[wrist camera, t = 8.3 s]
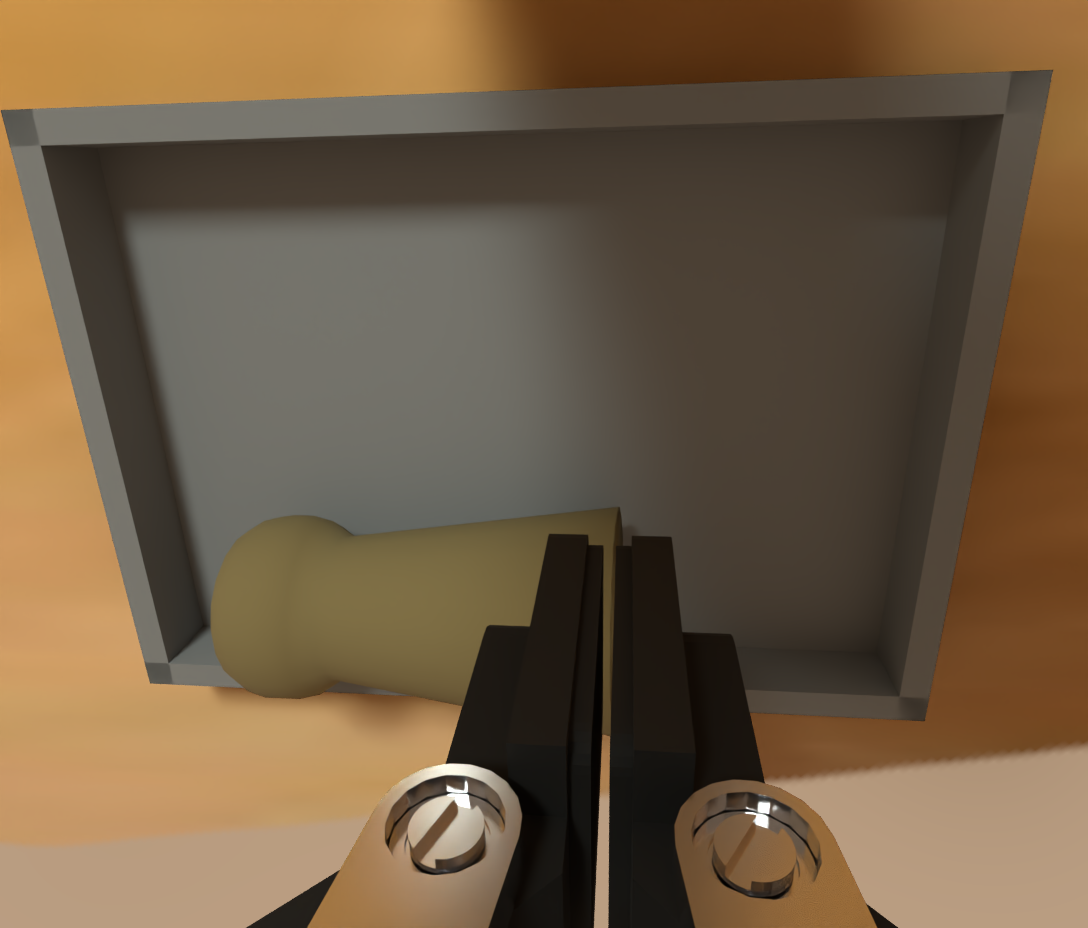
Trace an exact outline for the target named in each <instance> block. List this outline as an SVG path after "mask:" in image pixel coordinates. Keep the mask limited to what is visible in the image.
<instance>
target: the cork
mask: <svg viewBox="0 0 1088 928" xmlns="http://www.w3.org/2000/svg"><path fill="white" fill-rule="evenodd" d="M549 534H585V535H588V537H589V545H603V548H604V578H603V727H602V734H603V735H608V736H610V731H611V697H612V664H613V630H614V596H615V563H616V546H623V530H622V516H621V511H620V507H612V508H603V509H594V510H584V511H575V512H566V513H557V514H548V515H539V516H530V517H521V518H512V519H502V520H493V521H484V522H475V523H466V524H457V525H448V526H439V527H430V528H420V529H411V530H402V531H393V532H384V533H375V534H366V535H357V536H354V535H353V534H351V533H350V532H349V531H348V530H346V529H345V528H344V527H342V526H340V525H339V524H337V523H335V522H334V521H331V520H327V519H324V518H321V517H317V516H309V515H292V516H284V517H279V518H274V519H270V520H266V521H263V522H262V523H260V524H258V525H257V526H255V527H254V528H252V529H251V530H249V531H248V532H246V533H245V534H244V535H242V536H241V537H240V538H238V539H237V540H236V541H235V543H234V544H233V546H232V547H231V549H230V550H229V552H228V553H227V554H226V556H225V558H224V561H223V563H222V566H221V568H220V571H219V573H218V576H217V578H216V581H215V586H214V591H213V596H212V601H211V634H212V639H213V645H214V650H215V654H216V656H217V658H218V660H219V662H220V664H221V666H222V668H223V670H224V671H225V672H226V673H227V674H228V675H229V676H230V677H232V678H233V679H234V680H235V681H236V682H237V683H239V684H240V685H241V686H242V687H244V688H245V689H246V690H247V691H249V692H252V693H255V694H258V695H260V696H263V697H269V698H292V699H301V698H306V697H310V696H315V695H320V694H321V693H323V692H324V691H326V690H328V689H329V688H331V687H332V686H334V685H335V684H337V683H339V682H340V681H342V682H347V683H352V684H357V685H362V686H366V687H371V688H376V689H381V690H386V691H391V692H396V693H401V694H406V695H411V696H416V697H421V698H426V699H431V700H436V701H440V702H445V703H450V704H455V705H460V706H463V703H464V700H465V696H466V693H467V690H468V686H469V683H470V679H471V676H472V673H473V669H474V666H475V662H476V659H477V656H478V652H479V649H480V645H481V642H482V639H483V635H484V632H485V630H486V627H487V626H489V625H507V626H530V623H531V618H532V613H533V608H534V604H535V599H536V594H537V589H538V584H539V579H540V574H541V569H542V564H543V559H544V554H545V549H546V545H547V540H548V535H549Z"/></svg>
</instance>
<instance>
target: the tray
mask: <svg viewBox="0 0 1088 928" xmlns="http://www.w3.org/2000/svg"><path fill="white" fill-rule="evenodd" d="M1052 72H1053V70H1038V71H1012V72H986V73H960V74H934V75H908V76H881V77H855V78H829V79H803V80H777V81H751V82H725V83H699V84H673V85H646V86H620V87H594V88H568V89H542V90H516V91H490V92H464V93H438V94H412V95H385V96H359V97H333V98H307V99H281V100H255V101H229V102H203V103H177V104H150V105H124V106H98V107H72V108H46V109H20V110H1V113H2V117H3V121H4V125H5V128H6V132H7V136H8V140H9V144H10V148H11V151H12V155H13V159H14V163H15V167H16V171H17V174H18V178H19V182H20V186H21V190H22V194H23V198H24V201H25V205H26V209H27V213H28V217H29V221H30V224H31V228H32V232H33V236H34V240H35V244H36V247H37V251H38V255H39V259H40V263H41V267H42V270H43V274H44V278H45V282H46V286H47V290H48V293H49V297H50V301H51V305H52V309H53V313H54V316H55V320H56V324H57V328H58V332H59V336H60V339H61V343H62V347H63V351H64V355H65V359H66V362H67V366H68V370H69V374H70V378H71V382H72V385H73V389H74V393H75V397H76V401H77V405H78V409H79V412H80V416H81V420H82V424H83V428H84V432H85V435H86V439H87V443H88V447H89V451H90V455H91V458H92V462H93V466H94V470H95V474H96V478H97V481H98V485H99V489H100V493H101V497H102V501H103V504H104V508H105V512H106V516H107V520H108V524H109V527H110V531H111V535H112V539H113V543H114V547H115V550H116V554H117V558H118V562H119V566H120V570H121V573H122V577H123V581H124V585H125V589H126V593H127V597H128V600H129V604H130V608H131V612H132V616H133V620H134V623H135V627H136V631H137V635H138V639H139V643H140V646H141V650H142V654H143V658H144V662H145V666H146V669H147V673H148V677H149V681H150V683H154V684H174V685H195V686H215V687H236V688H244V687H242V686H241V685H240V684H239V683H237V682H236V681H235V680H234V679H233V678H232V677H230V676H229V675H228V674H227V673H226V672H225V671H224V670H223V668H222V666H221V664H220V662H219V660H218V658H217V656H216V654H215V650H214V645H213V639H212V634H211V601H212V596H213V591H214V586H215V581H216V578H217V576H218V573H219V571H220V568H221V566H222V563H223V561H224V558H225V556H226V554H227V553H228V552H229V550H230V549H231V547H232V546H233V544H234V543H235V541H236V540H237V539H238V538H240V537H241V536H242V535H244V534H245V533H246V532H248V531H249V530H251V529H252V528H254V527H255V526H257V525H258V524H260V523H262V522H263V521H266V520H270V519H274V518H279V517H284V516H292V515H309V516H317V517H321V518H324V519H327V520H331V521H334V522H335V523H337V524H339V525H340V526H342V527H344V528H345V529H346V530H348V531H349V532H350V533H351V534H353V535H354V536H357V535H366V534H375V533H384V532H393V531H402V530H411V529H420V528H430V527H439V526H448V525H457V524H466V523H475V522H484V521H493V520H502V519H512V518H521V517H530V516H539V515H548V514H557V513H566V512H575V511H584V510H594V509H603V508H612V507H620V511H621V516H622V530H623V546H631V543H632V536H667V537H672V544H673V552H674V561H675V570H676V579H677V588H678V597H679V606H680V615H681V624H682V632H694V633H721V634H731V635H732V636H733V639H734V642H735V646H736V651H737V655H738V660H739V665H740V669H741V674H742V679H743V683H744V688H745V693H746V697H747V702H748V707H749V711H750V713H769V714H789V715H810V716H830V717H851V718H871V719H892V720H912V721H925V717H926V712H927V707H928V702H929V697H930V691H931V686H932V681H933V676H934V671H935V666H936V661H937V656H938V651H939V646H940V641H941V636H942V631H943V625H944V620H945V615H946V610H947V605H948V600H949V595H950V590H951V585H952V580H953V575H954V570H955V565H956V560H957V554H958V549H959V544H960V539H961V534H962V529H963V524H964V519H965V514H966V509H967V504H968V499H969V494H970V488H971V483H972V478H973V473H974V468H975V463H976V458H977V453H978V448H979V443H980V438H981V433H982V428H983V423H984V417H985V412H986V407H987V402H988V397H989V392H990V387H991V382H992V377H993V372H994V367H995V362H996V357H997V351H998V346H999V341H1000V336H1001V331H1002V326H1003V321H1004V316H1005V311H1006V306H1007V301H1008V296H1009V291H1010V286H1011V280H1012V275H1013V270H1014V265H1015V260H1016V255H1017V250H1018V245H1019V240H1020V235H1021V230H1022V225H1023V220H1024V214H1025V209H1026V204H1027V199H1028V194H1029V189H1030V184H1031V179H1032V174H1033V169H1034V164H1035V159H1036V154H1037V149H1038V143H1039V138H1040V133H1041V128H1042V123H1043V118H1044V113H1045V108H1046V103H1047V98H1048V93H1049V88H1050V83H1051V77H1052ZM324 692H338V693H359V694H379V695H400V696H411V695H406V694H401V693H396V692H391V691H386V690H381V689H376V688H371V687H366V686H362V685H357V684H352V683H347V682H342V681H340V682H339V683H337V684H335V685H334V686H332V687H331V688H329V689H328V690H326V691H324Z"/></svg>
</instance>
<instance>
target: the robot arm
mask: <svg viewBox="0 0 1088 928" xmlns="http://www.w3.org/2000/svg"><path fill="white" fill-rule="evenodd" d="M603 578H604V548H603V545H589V537H588V535H585V534H549V535H548V540H547V545H546V549H545V554H544V559H543V564H542V569H541V574H540V579H539V584H538V589H537V594H536V599H535V604H534V608H533V613H532V618H531V623H530V626H507V625H489V626H487V627H486V630H485V632H484V635H483V639H482V642H481V645H480V649H479V652H478V656H477V659H476V662H475V666H474V669H473V673H472V676H471V679H470V683H469V686H468V690H467V693H466V696H465V700H464V703H463V707H462V710H461V713H460V717H459V720H458V724H457V727H456V730H455V734H454V737H453V741H452V744H451V747H450V751H449V754H448V758H447V761H446V764H444V765H439V766H433V767H428V768H425V769H423V770H421V771H419V772H416V773H414V774H412V775H409V776H407V777H406V778H404V779H403V780H402V781H400V782H399V783H398V784H396V785H395V786H394V787H392V788H391V789H390V790H389V791H388V792H387V793H386V795H385V796H384V797H383V798H382V800H381V801H380V802H379V803H378V805H377V806H376V807H375V809H374V811H373V813H372V814H371V816H370V818H369V820H368V821H367V823H366V825H365V827H364V828H363V830H362V832H361V834H360V836H359V837H358V839H357V841H356V843H355V845H354V846H353V848H352V850H351V852H350V853H349V855H348V857H347V858H346V860H345V862H344V864H343V865H342V867H341V869H340V870H339V871H337V872H336V873H334V874H333V875H331V876H329V877H328V878H326V879H324V880H323V881H321V882H319V883H318V884H316V885H315V886H313V887H311V888H310V889H309V890H307V891H305V892H303V893H302V894H300V895H298V896H297V897H295V898H294V899H292V900H291V901H289V902H287V903H286V904H284V905H282V906H281V907H279V908H277V909H276V910H274V911H273V912H271V913H269V914H268V915H266V916H264V917H263V918H261V919H260V920H258V921H256V922H255V923H253V924H252V925H250V926H248V927H247V928H594V910H595V885H596V865H597V864H596V863H597V842H598V818H599V796H600V773H601V750H602V727H603ZM609 815H610V817H609V925H608V926H609V927H608V928H898V927H896V926H895V925H894V924H892V923H891V922H890V921H888V920H887V919H886V918H884V917H883V916H882V915H880V914H879V913H878V912H876V911H875V910H874V909H873V908H871V907H870V906H869V905H867V904H866V903H865V901H864V899H863V897H862V895H861V893H860V891H859V888H858V886H857V884H856V882H855V880H854V878H853V876H852V874H851V871H850V869H849V867H848V865H847V863H846V861H845V859H844V857H843V855H842V852H841V850H840V848H839V846H838V844H837V842H836V840H835V838H834V836H833V835H832V833H831V832H830V830H829V829H828V827H827V826H826V824H825V823H824V821H823V820H822V818H821V817H820V816H819V815H818V814H817V813H816V812H815V811H814V810H812V809H811V808H810V807H809V806H808V805H807V804H806V803H805V802H803V801H802V800H801V799H799V798H797V797H795V796H793V795H792V794H790V793H788V792H786V791H784V790H783V789H781V788H778V787H775V786H771V785H768V784H765V782H764V777H763V772H762V768H761V763H760V758H759V754H758V749H757V744H756V740H755V735H754V730H753V726H752V721H751V716H750V711H749V707H748V702H747V697H746V693H745V688H744V683H743V679H742V674H741V669H740V665H739V660H738V655H737V651H736V646H735V642H734V639H733V636H732V635H731V634H721V633H694V632H682V624H681V615H680V606H679V597H678V588H677V579H676V570H675V561H674V552H673V544H672V537H667V536H632V543H631V546H616V563H615V596H614V630H613V664H612V697H611V731H610V806H609Z"/></svg>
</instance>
